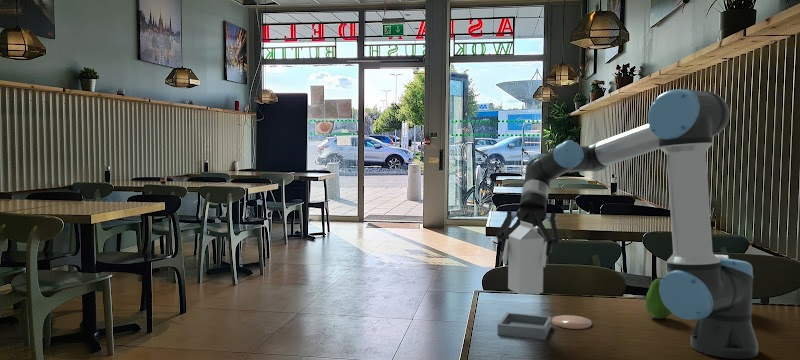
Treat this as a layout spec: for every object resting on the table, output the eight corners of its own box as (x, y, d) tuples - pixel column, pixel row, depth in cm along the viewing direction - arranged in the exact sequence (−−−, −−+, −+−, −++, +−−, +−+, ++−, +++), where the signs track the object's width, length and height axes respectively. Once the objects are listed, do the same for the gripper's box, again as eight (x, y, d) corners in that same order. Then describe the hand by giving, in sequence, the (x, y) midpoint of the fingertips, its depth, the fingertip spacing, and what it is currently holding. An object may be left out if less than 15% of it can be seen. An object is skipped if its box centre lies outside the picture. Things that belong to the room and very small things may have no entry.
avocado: (644, 320, 185) (645, 279, 184) (646, 313, 192) (647, 274, 191) (673, 323, 181) (675, 282, 180) (674, 316, 188) (675, 277, 188)
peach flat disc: (599, 324, 180) (599, 321, 180) (574, 331, 174) (574, 328, 174) (568, 315, 189) (568, 313, 189) (543, 322, 183) (543, 319, 183)
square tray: (551, 326, 178) (551, 316, 178) (544, 339, 167) (544, 329, 166) (506, 321, 183) (507, 312, 183) (497, 334, 171) (497, 324, 171)
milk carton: (519, 295, 170) (520, 224, 169) (507, 288, 177) (508, 221, 175) (543, 293, 172) (544, 223, 170) (530, 287, 179) (532, 220, 177)
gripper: (574, 209, 183) (567, 273, 169) (497, 205, 191) (485, 267, 177) (573, 192, 178) (565, 257, 164) (494, 189, 186) (480, 251, 172)
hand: (523, 262), depth 171 cm, fingers closed on milk carton, 10 cm apart
